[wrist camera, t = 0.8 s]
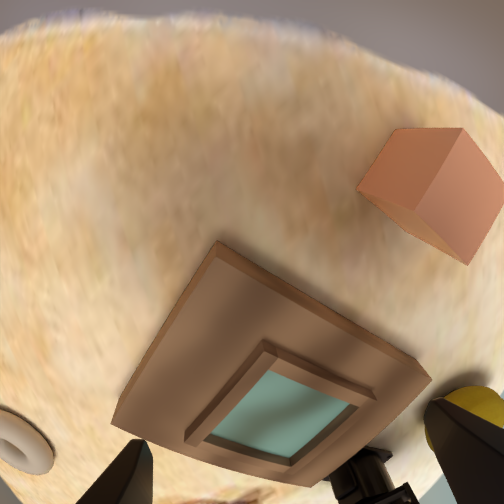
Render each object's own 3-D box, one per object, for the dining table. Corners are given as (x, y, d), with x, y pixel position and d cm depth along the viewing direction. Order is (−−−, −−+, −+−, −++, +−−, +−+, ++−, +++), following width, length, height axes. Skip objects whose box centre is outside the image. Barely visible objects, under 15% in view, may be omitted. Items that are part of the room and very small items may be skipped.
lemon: (398, 431, 28) (427, 485, 20) (429, 376, 26) (471, 430, 18) (464, 417, 29) (495, 458, 22) (494, 367, 27) (533, 407, 19)
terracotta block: (441, 175, 20) (509, 191, 13) (405, 231, 21) (467, 265, 14) (395, 129, 19) (463, 128, 12) (355, 189, 20) (413, 211, 13)
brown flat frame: (416, 359, 25) (439, 388, 21) (305, 465, 28) (312, 496, 24) (216, 240, 20) (215, 264, 16) (118, 398, 23) (107, 434, 19)
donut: (62, 434, 25) (-15, 388, 23) (53, 458, 22) (-29, 408, 19) (53, 469, 27) (-12, 431, 25) (47, 489, 24) (-22, 449, 22)
